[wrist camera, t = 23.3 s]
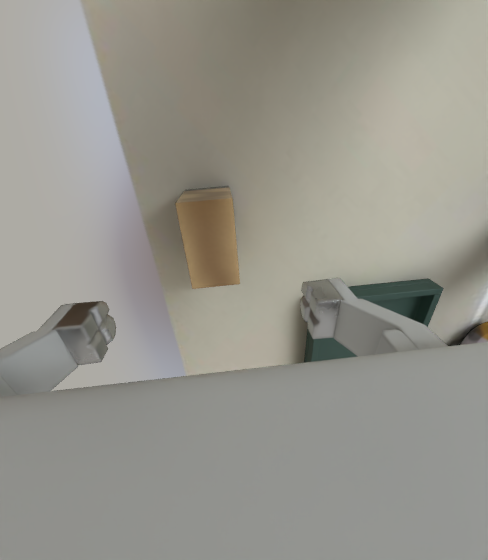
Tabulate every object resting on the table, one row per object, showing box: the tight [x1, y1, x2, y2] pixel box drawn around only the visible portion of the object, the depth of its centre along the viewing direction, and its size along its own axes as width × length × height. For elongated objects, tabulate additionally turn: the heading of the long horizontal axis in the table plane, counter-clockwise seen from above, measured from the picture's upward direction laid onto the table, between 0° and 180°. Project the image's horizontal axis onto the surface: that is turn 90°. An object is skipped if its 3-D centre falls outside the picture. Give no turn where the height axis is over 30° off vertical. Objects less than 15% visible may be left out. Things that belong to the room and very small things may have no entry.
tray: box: [304, 279, 443, 363], centre depth 33 cm, size 22×15×2 cm
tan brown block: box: [175, 186, 240, 289], centre depth 21 cm, size 4×7×6 cm, turn 4°
